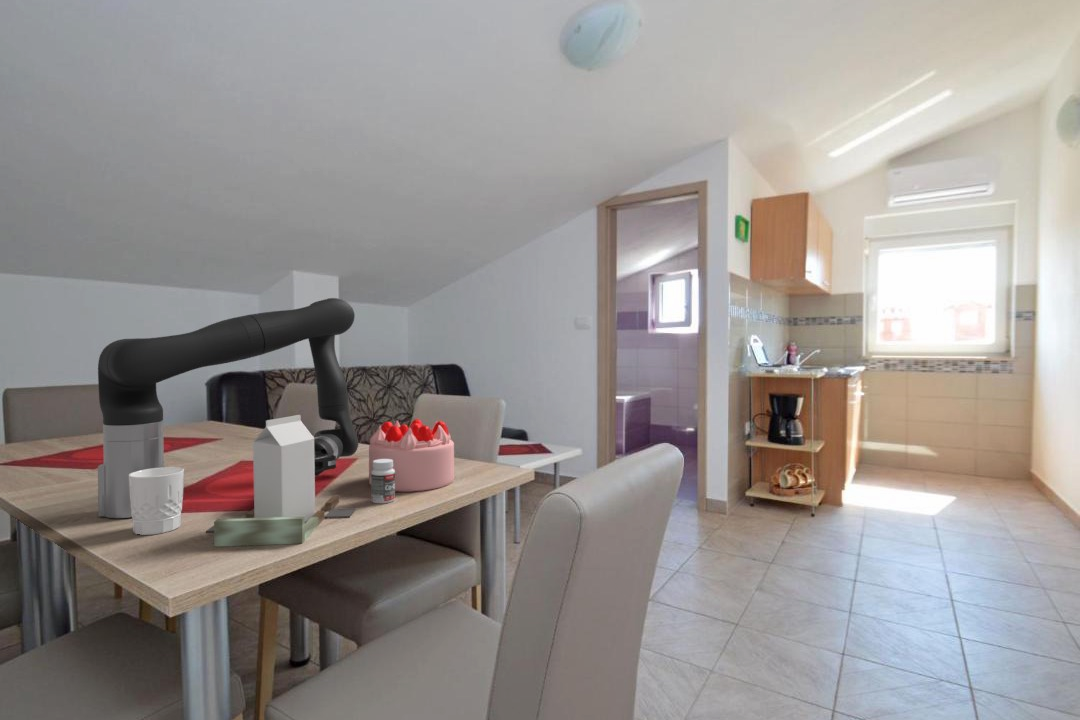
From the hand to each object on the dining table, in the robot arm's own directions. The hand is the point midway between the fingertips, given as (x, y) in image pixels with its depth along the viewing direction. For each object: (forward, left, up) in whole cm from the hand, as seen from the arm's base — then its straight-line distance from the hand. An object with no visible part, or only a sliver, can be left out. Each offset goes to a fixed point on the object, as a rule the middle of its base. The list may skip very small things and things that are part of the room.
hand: (290, 471), depth 102 cm
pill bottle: (+16, +9, -9) cm, 20 cm away
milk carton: (+1, -4, -8) cm, 9 cm away
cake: (+20, +25, -9) cm, 33 cm away
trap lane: (0, -3, -8) cm, 9 cm away
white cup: (-20, -5, -9) cm, 23 cm away
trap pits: (0, -3, -8) cm, 9 cm away
